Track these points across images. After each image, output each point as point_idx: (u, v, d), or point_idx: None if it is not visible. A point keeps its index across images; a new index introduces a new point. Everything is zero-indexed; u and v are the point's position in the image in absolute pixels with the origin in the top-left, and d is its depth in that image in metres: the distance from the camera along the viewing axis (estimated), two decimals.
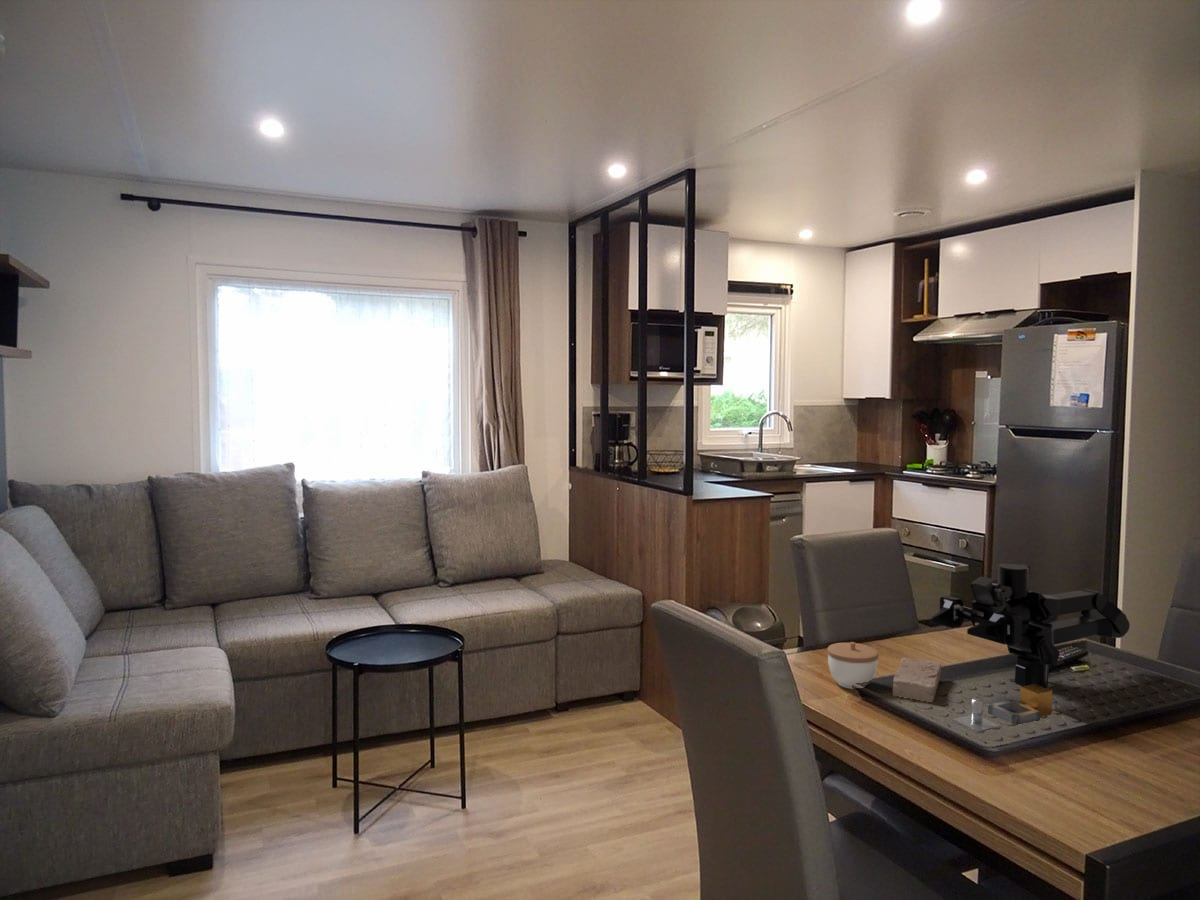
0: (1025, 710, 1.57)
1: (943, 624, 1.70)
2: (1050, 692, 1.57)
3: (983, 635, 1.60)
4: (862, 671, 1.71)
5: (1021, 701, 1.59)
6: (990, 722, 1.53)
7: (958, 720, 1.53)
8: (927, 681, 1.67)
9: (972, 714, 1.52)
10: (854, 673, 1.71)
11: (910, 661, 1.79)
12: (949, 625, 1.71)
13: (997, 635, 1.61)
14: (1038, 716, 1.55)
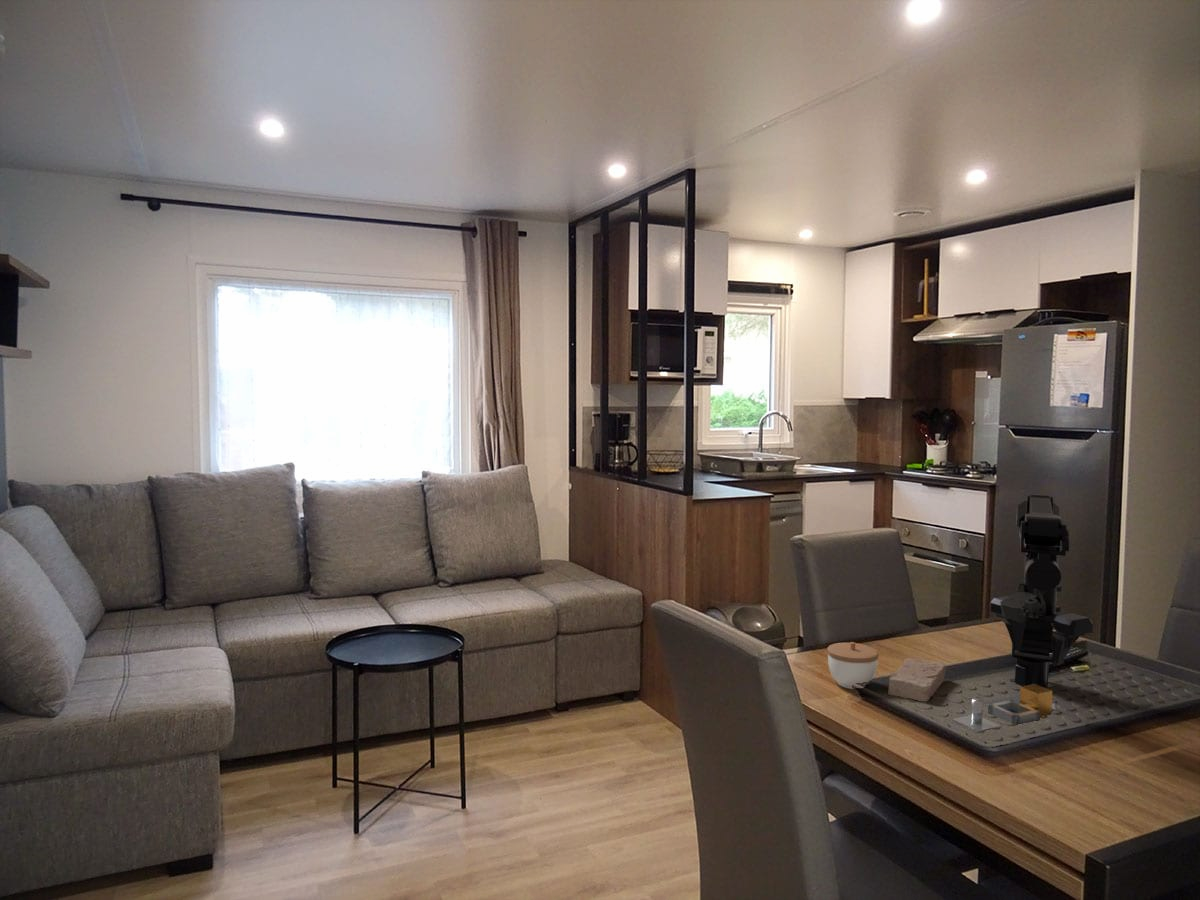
0: (1025, 710, 1.57)
1: (1022, 633, 1.63)
2: (1050, 692, 1.57)
3: (1067, 650, 1.53)
4: (862, 671, 1.71)
5: (1021, 701, 1.59)
6: (990, 722, 1.53)
7: (958, 720, 1.53)
8: (923, 681, 1.67)
9: (972, 714, 1.52)
10: (854, 673, 1.71)
11: (913, 661, 1.79)
12: (1023, 622, 1.63)
13: None
14: (1038, 716, 1.55)
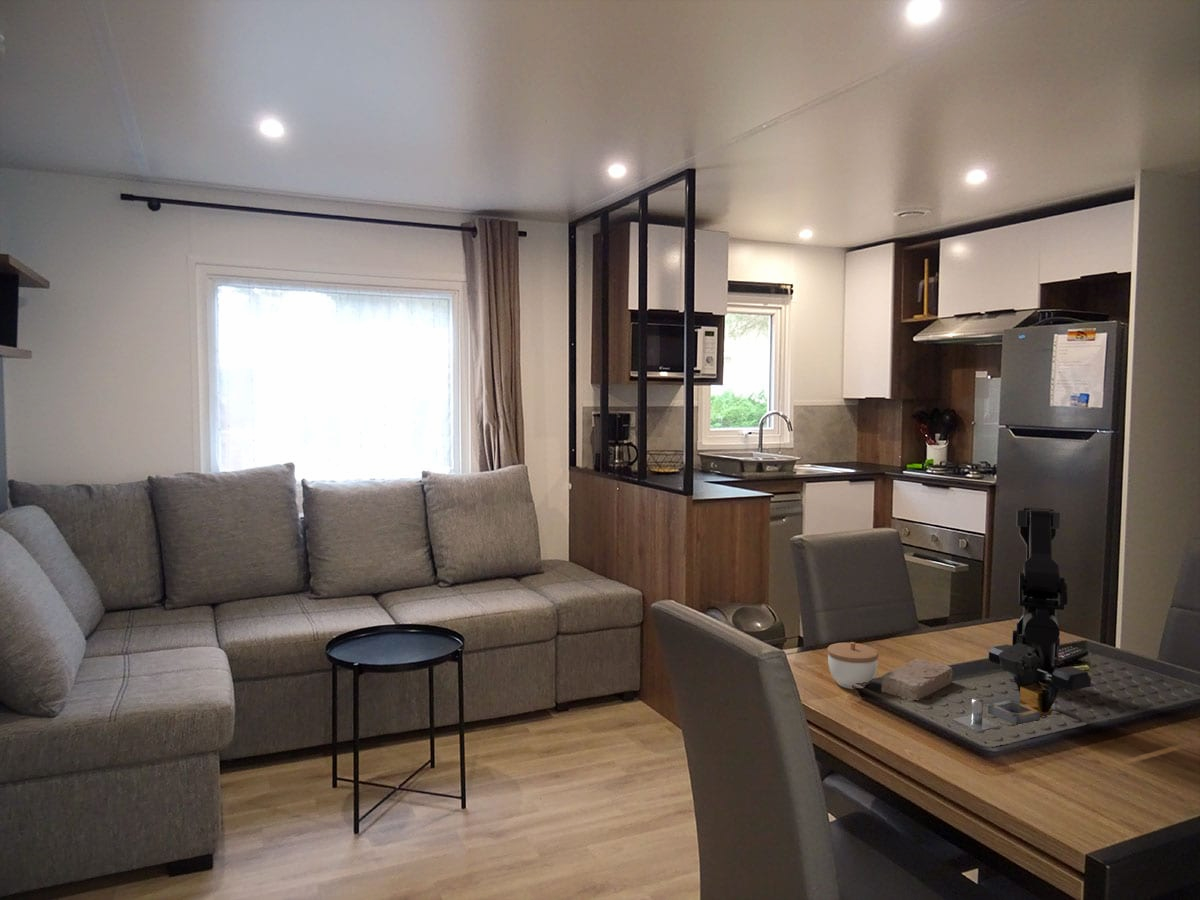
0: (1025, 710, 1.57)
1: None
2: None
3: (1054, 698, 1.56)
4: (862, 671, 1.71)
5: (1021, 701, 1.59)
6: (990, 722, 1.53)
7: (958, 720, 1.53)
8: (916, 680, 1.68)
9: (972, 714, 1.52)
10: (854, 673, 1.71)
11: (920, 662, 1.78)
12: (1032, 676, 1.62)
13: None
14: (1038, 716, 1.55)
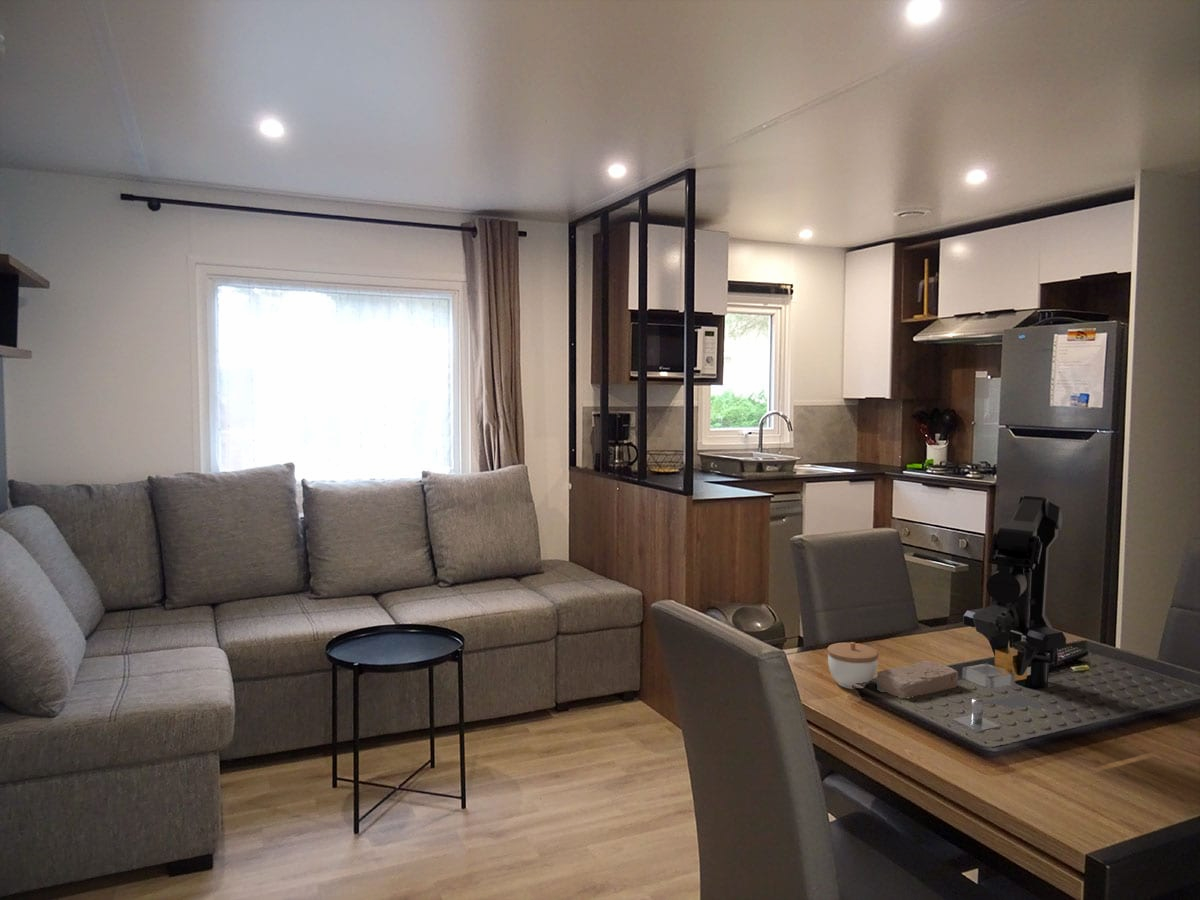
0: (1000, 673, 1.53)
1: None
2: None
3: (1029, 660, 1.52)
4: (862, 671, 1.71)
5: (996, 664, 1.56)
6: (990, 722, 1.53)
7: (958, 720, 1.53)
8: (909, 679, 1.68)
9: (972, 714, 1.52)
10: (854, 673, 1.71)
11: (927, 664, 1.77)
12: (1007, 639, 1.58)
13: None
14: (1013, 678, 1.51)
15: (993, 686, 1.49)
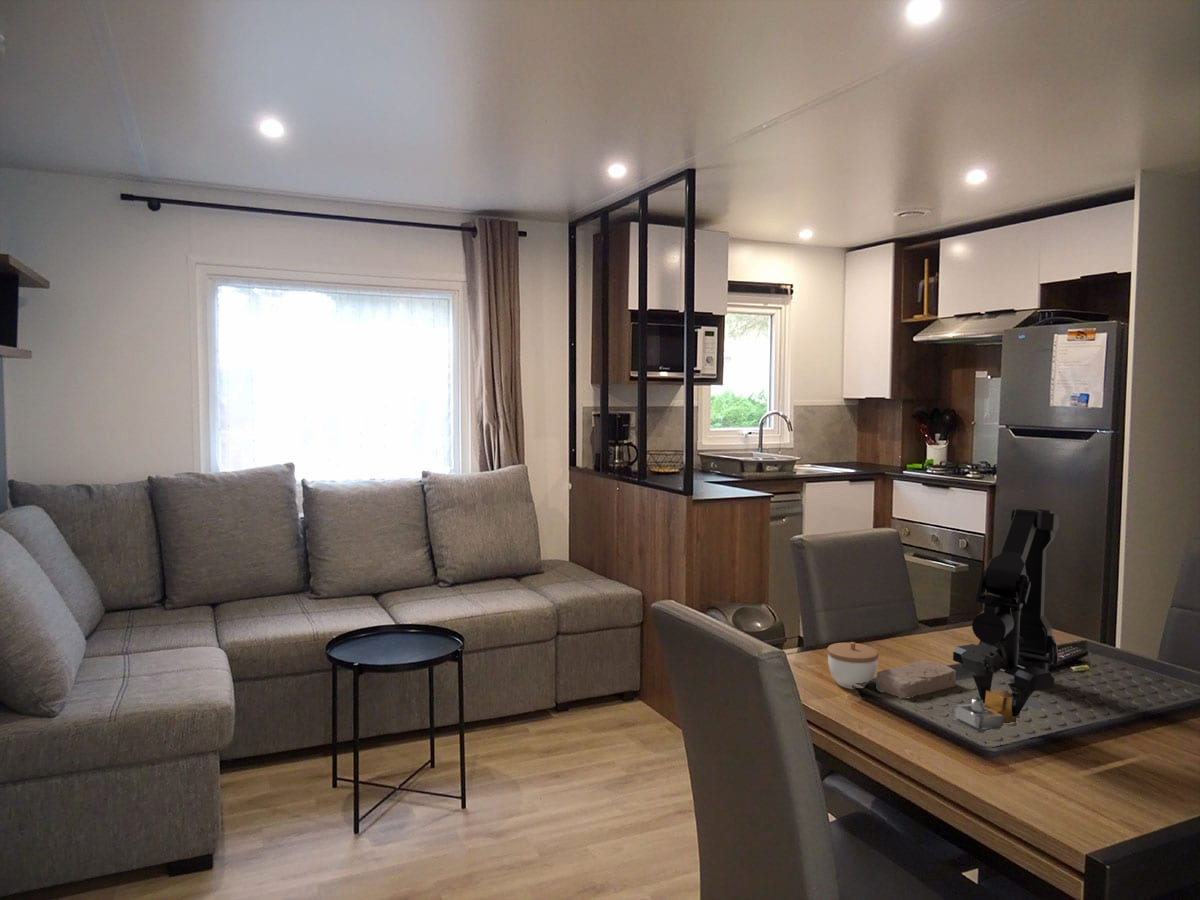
0: (989, 714, 1.53)
1: (990, 685, 1.58)
2: None
3: (1024, 701, 1.51)
4: (862, 671, 1.71)
5: (986, 705, 1.56)
6: None
7: (958, 720, 1.53)
8: (909, 679, 1.68)
9: None
10: (854, 673, 1.71)
11: (925, 663, 1.77)
12: (991, 674, 1.59)
13: None
14: (1002, 720, 1.51)
15: (982, 726, 1.49)
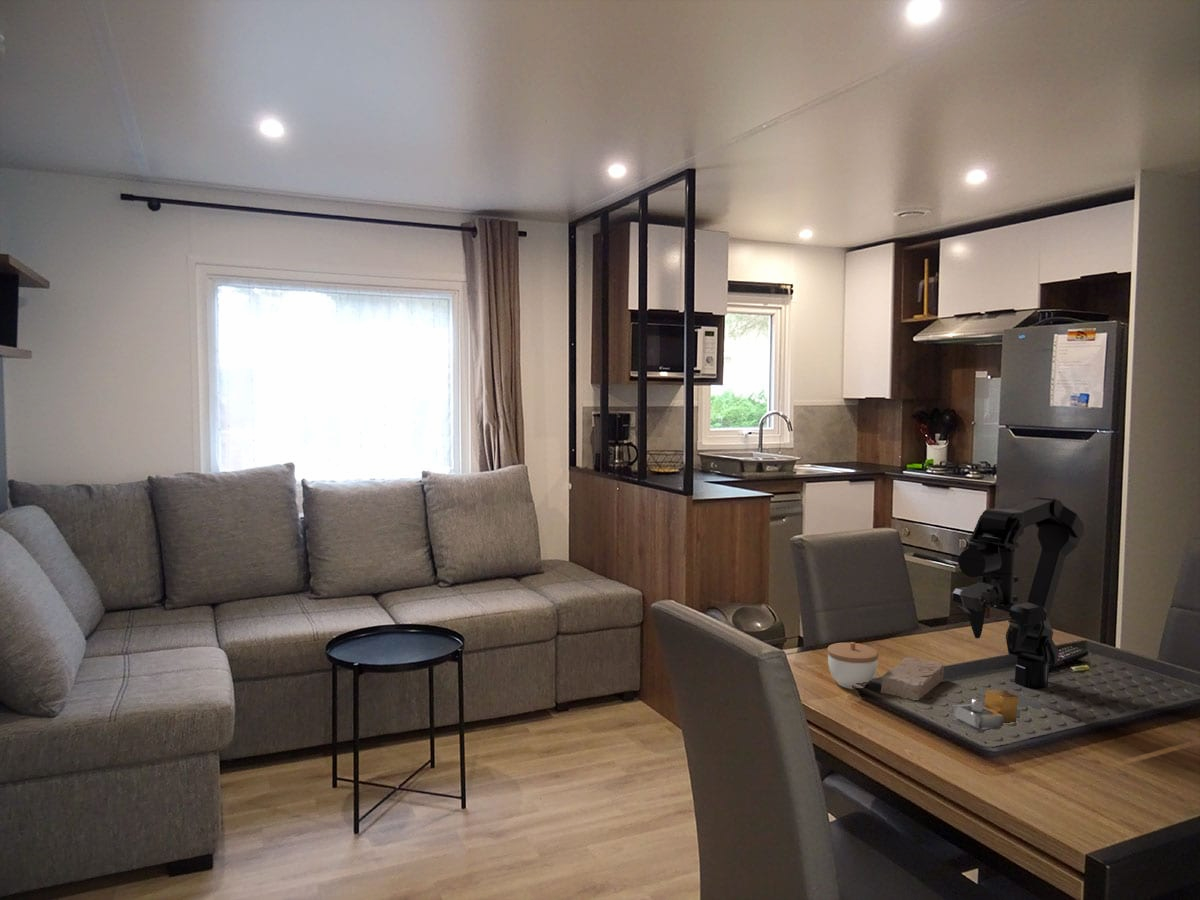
0: (989, 714, 1.53)
1: (982, 622, 1.70)
2: (1016, 698, 1.54)
3: (1023, 637, 1.61)
4: (862, 671, 1.71)
5: (986, 705, 1.56)
6: None
7: (958, 720, 1.53)
8: (916, 680, 1.68)
9: None
10: (854, 673, 1.71)
11: (912, 661, 1.79)
12: (984, 612, 1.71)
13: None
14: (1002, 720, 1.51)
15: (982, 726, 1.49)
